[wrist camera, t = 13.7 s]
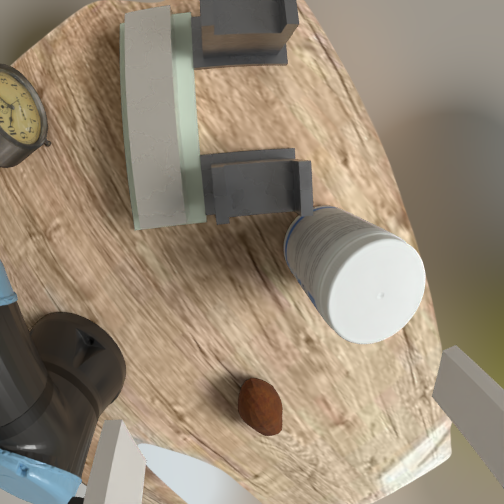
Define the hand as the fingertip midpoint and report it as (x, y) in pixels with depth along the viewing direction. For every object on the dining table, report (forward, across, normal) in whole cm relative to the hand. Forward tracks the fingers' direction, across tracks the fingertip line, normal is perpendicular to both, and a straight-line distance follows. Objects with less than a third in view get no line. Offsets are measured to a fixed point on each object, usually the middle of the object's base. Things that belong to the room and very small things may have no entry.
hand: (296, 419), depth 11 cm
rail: (+26, -6, +15) cm, 31 cm away
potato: (+27, -1, -24) cm, 36 cm away
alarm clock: (+27, -22, +19) cm, 40 cm away
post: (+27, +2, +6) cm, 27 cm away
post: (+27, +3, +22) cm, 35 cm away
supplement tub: (+27, +10, -2) cm, 29 cm away
